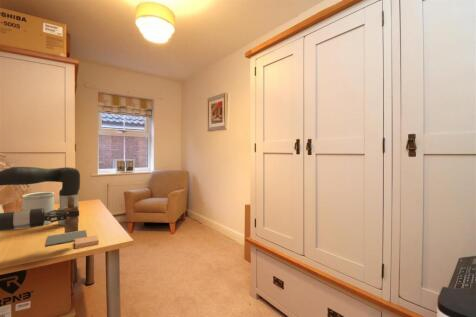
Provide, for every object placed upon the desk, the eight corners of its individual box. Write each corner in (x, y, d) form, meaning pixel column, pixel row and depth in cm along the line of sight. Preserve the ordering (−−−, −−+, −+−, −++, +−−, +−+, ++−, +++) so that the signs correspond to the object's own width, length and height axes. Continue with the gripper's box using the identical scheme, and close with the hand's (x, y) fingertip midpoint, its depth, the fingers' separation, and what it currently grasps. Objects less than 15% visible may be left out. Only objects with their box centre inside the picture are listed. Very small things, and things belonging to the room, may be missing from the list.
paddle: (64, 233, 106) (64, 197, 105) (64, 231, 108) (64, 196, 108) (78, 231, 109) (77, 196, 108) (77, 229, 111) (77, 195, 110)
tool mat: (45, 246, 108) (45, 245, 108) (47, 237, 119) (47, 236, 119) (87, 239, 117) (87, 237, 117) (85, 231, 128) (85, 230, 128)
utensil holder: (26, 228, 132) (25, 197, 131) (19, 223, 141) (19, 194, 140) (58, 222, 143) (58, 193, 143) (50, 218, 152) (50, 191, 152)
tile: (75, 244, 106) (98, 240, 111) (74, 239, 112) (96, 235, 118) (75, 249, 106) (98, 244, 111) (74, 243, 112) (96, 239, 118)
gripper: (27, 213, 94) (79, 207, 104) (31, 206, 105) (78, 201, 115) (27, 232, 94) (79, 224, 104) (31, 223, 105) (78, 217, 116)
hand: (78, 212), depth 110 cm, fingers closed on paddle, 3 cm apart
